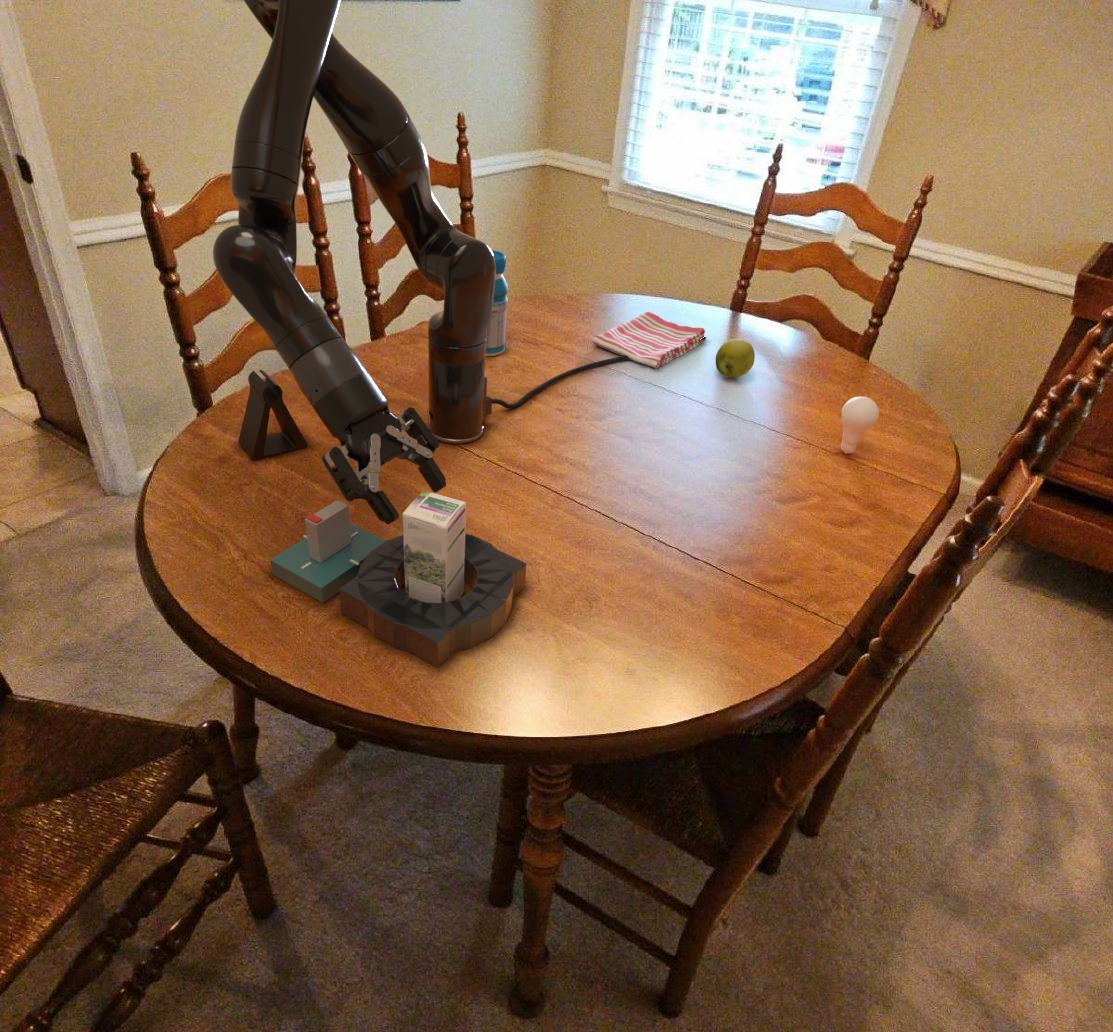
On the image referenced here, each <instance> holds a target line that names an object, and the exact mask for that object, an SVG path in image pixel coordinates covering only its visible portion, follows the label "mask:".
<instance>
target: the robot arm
mask: <svg viewBox="0 0 1113 1032" xmlns="http://www.w3.org/2000/svg"><path fill="white" fill-rule="evenodd" d="M243 2H244V3H245V5H246V6H247V8H248V10H249V11H250V12H251V13H252V15H253V17H254V18H255V19H256V20H257V22H258V23H259V24H260V26H261V27H262V29H263V30H264V31H265V32H266V33H267V35H268V36H269V38H270V39H271V42H270V46H269V49H268V52H267V54H266V58H265V59H264V62H263V64H262V67H261V68H260V71H259V73H258V75H257V77H256V79H255V80H254V83H253V85H252V86H251V89H250V90H249V93H248V95H247V97H246V99H245V101H244V104H243V106H242V109H241V112H240V115H239V118H238V121H237V122H238V123H237V125H236V132H235V137H234V146H233V154H232V163H231V171H230V172H231V173H230V191H231V194H232V197H233V199H234V201H235V202H236V205H237V211H238V212H237V213H238V217H237V219H238V221H237V224H233V225H230V226H228V227H226V228H225V229H223V230H222V231H221V232H220V233H219V234H218V236H217V237H216V239H215V241H214V243H213V247H212V259H213V265H214V267H215V269H216V272H217V274H218V276H219V277H220V279H221V281H222V282H223V284H224V285H225V287H226V288H227V289H228V291H230V293H231V294H232V295H233V297H234V298H235V299H236V300H237V302H238V303H239V304H240V305H241V306H242V307H243V309H244V310H245V311H246V312H247V313H248V314H249V315H250V317H251V318H252V319H253V320H254V321H255V322H256V323H257V324H258V326H259V327H260V328H261V329H262V330H263V332H264V333H265V334H266V336H267V337H268V339H269V341H270V342H271V345H272V346H273V347H274V349H275V351H276V352H277V353H278V355H279V356H280V358H281V360H282V361H283V362H284V363H285V365H286V366H287V368H288V370H289V371H290V373H291V374H292V376H293V378H294V380H295V382H296V384H297V386H298V387H299V389H300V391H301V392H302V394H303V395H304V397H305V398H306V400H307V401H308V403H309V404H310V405H311V407H312V409H313V410H314V411H315V413H316V415H317V416H318V417H319V419H320V420H321V422H322V423H323V425H324V426H325V428H326V429H327V430H328V433H330V435H331V436H332V437H333V438H334V439H337V440H338V441H339V444H340V446H339V447H338V446H333V447H332V448H330V449H329V450H328V451H327V452H326V453H324V454H323V455H322V456H321V461H322V463H323V465H324V467H325V468H326V470H327V471H328V473H329V475H330V476H331V478H332V479H333V481H334V483H335V484H336V486H337V488H338V489H339V491H340V492H341V494H342V496H343V498H344V499H345V500H347V502H353V501H355V500H364V501H365V502H366V503H367V504H368V506H369V507H370V508H371V510H372V511H373V513H374V515H375V516H376V518H377V520H379V521H381V522H382V523H385V525H390V524H392V523H394V522H395V521H397V520H398V519H399V518H400V514H399V512H398V511H397V509H396V508H395V506H394V505H393V503H392V502H391V500H390V499H389V496H387V494H386V493H385V492H384V490H383V489H381V490H380V480H379V479H380V478H379V477H380V472H381V470H382V466H384V465H385V464H387V463H389V462H391V461H393V460H395V458H396V459H399V460H407V461H408V462H410V463H413V464H414V465H416V466H419V467H417V468H416V469H417V470H418V472H419V473H420V475H421V476H422V477H423V479H424V481H425V482H426V484H427V485H428V486H429V488H430V489H431V491H432V493H438V492H439V491H441V490H443V489H444V488H446V486H447V480H446V476H445V475H444V473H443V472H442V470H441V469H440V467H439V466H438V464H437V463H436V461H435V460H434V453H435V451H436V450H437V449H438V448H439V447H440V442H443V443H446V444H453V445H455V444H456V445H460V444H468V443H472V442H474V441H477V440H478V439H479V438H480V437H482V435H483V433H484V428H485V427H486V418H487V416H489V415H491V414H492V410H493V409H492V408H493V407H492V406H493V404H494V405H500V406H502V407H504V408H505V409H510V410H511V409H516V408H518V407H520V406H522V405H523V404H525V403H526V401H528V400H529V399H530V398H531V397H532V396H534V395H536V394H537V393H539V392H541V391H543V390H544V389H546V388H547V387H549V386H551V385H553V384H554V383H556V382H558V381H560V380H563V379H565V378H566V377H569V376H572V375H575V374H577V373H580V372H583V371H586V370H590V369H593V368H596V367H600V366H604V365H609V364H613V363H617V362H622V361H627V360H630V359H629V357H628V356H627V355H625V356H621V355H619V356H615V357H610V358H607V359H602V360H598V361H594V362H589V363H587V364H584V365H580V366H578V367H575V368H572V369H569V370H566V371H565V372H563V373H560V374H557V375H556V376H554V377H552V378H550V379H548V380H547V381H545V382H543V383H541V384H539V385H538V386H537V387H535V388H533V389H532V390H530V391H529V392H527V393H526V394H525V395H524V396H522V397H521V398H520V399H519V400H517V401H515V402H512V403H509V402H507V401H506V400H503V399H500V398H492V397H491V396H487V394H488V390H487V389H488V377H487V376H486V356H485V351H486V331H487V328H488V326H489V324H490V321H491V318H492V311H493V301H494V290H495V279H496V266H495V259H494V255H493V253H492V251H491V250H492V249H491V247H489V245H488V244H486V243H485V242H483V241H482V240H479V239H478V238H475V237H473V236H471V235H469V234H466V233H464V232H462V231H460V230H459V229H457V228H456V227H455V225H454V224H453V223H452V222H451V221H450V219H449V218H448V217H447V215H446V213H445V211H444V210H443V208H442V207H441V205H440V203H439V201H438V200H437V198H436V196H435V194H434V191H433V188H432V181H431V172H430V171H431V170H430V162H429V156H428V153H427V152H428V151H427V150H426V146H425V144H424V142H423V139H422V137H421V135H420V134H419V132H418V130H417V128H416V125H415V124H414V122H413V120H412V118H411V116H410V115H409V113H408V111H407V109H406V107H405V106H404V104H403V103H402V101H401V100H400V98H399V97H398V95H396V93H395V92H394V91H393V90H392V89H391V88H390V87H389V86H388V85H387V84H386V83H385V82H384V81H383V80H381V79H380V78H379V76H377V75H376V74H374V73H373V72H372V70H370V69H369V68H368V67H366V66H365V65H364V64H363V63H362V62H361V61H359V60H358V59H357V58H356V57H355V56H354V55H353V54H352V53H351V52H349V51H348V50H347V49H346V48H345V46H344V45H342V44H341V43H340V41H339V39H337V37H336V36H335V35H334V34H333V30H334V27H335V23H336V21H337V16H338V13H339V10H340V6H341V2H342V0H243ZM313 99H314V100H315V101H316V103H317V105H318V106H319V108H320V109H321V111H322V112H323V114H324V115H325V117H326V118H327V119H328V121H329V122H330V124H331V126H332V127H333V129H334V131H335V132H336V134H337V135H338V137H339V139H340V141H341V143H342V144H343V146H344V148H345V150H346V151H347V152H348V154H349V155H350V157H351V159H352V160H353V162H354V164H355V165H356V167H357V168H358V170H359V172H360V173H361V174H362V176H363V178H364V179H365V180H366V182H367V183H368V184H369V186H370V188H371V189H372V191H373V193H374V194H375V195H376V197H377V198H378V200H379V201H380V204H381V205H382V207H383V208H384V209H385V210H386V212H387V213H388V215H389V216H390V217H391V219H392V220H393V222H394V224H395V225H396V227H397V229H398V231H399V232H400V235H401V237H402V239H403V240H404V243H405V245H406V247H407V249H408V251H409V253H410V255H411V257H412V259H413V261H414V264H415V265H416V268H417V270H418V271H419V273H420V275H421V276H422V278H423V279H424V280H425V281H426V283H428V284H429V285H430V286H431V287H432V288H434V289H436V290H438V291H440V292H442V293H443V294H444V296H443V309H442V311H439V312H436V313H434V314H432V315H431V317H429V320H428V322H427V325H428V326H427V353H428V355H427V357H428V361H427V362H428V365H427V367H428V368H427V369H428V408H426V414H427V417H428V425H427V424H426V422H425V421H424V420H423V418H422V417H421V416H420V415H419V413H418V411H416V409H415V408H414V407H412V406H409V407H407V408H406V409H404V410H403V411H402V412H401V413H400V414H398V415H397V416H395V415H394V414H393V413H392V412H391V411H390V409H389V402H388V400H387V398H386V396H385V395H384V394H383V393H382V391H381V390H380V388H379V386H378V385H377V383H376V382H375V379H373V377H372V376H371V374H370V373H369V371H368V370H367V368H366V367H365V365H364V364H363V362H362V361H361V359H360V358H359V356H358V355H357V353H356V352H355V351H354V350H353V349H352V348H351V346H350V345H349V344H348V343H347V342H346V341H345V339H344V338H343V336H342V335H341V333H340V332H339V331H338V329H337V328H336V325H334V323H333V321H332V320H331V319H330V317H329V316H328V314H327V313H326V311H325V310H324V309H323V307H322V306H320V304H319V303H318V302H317V301H316V300H315V299H314V298H313V297H311V296H310V295H309V294H308V293H307V291H306V290H305V289H304V287H303V285H302V284H301V282H300V281H299V280H298V278H297V277H296V275H295V272H296V267H297V257H298V254H297V253H298V244H297V243H298V239H297V238H298V237H297V235H298V233H297V231H298V230H297V213H296V202H297V198H298V192H299V185H300V177H301V171H302V170H301V169H302V161H303V150H304V145H305V139H306V132H307V126H308V122H309V117H310V114H311V113H310V111H311V107H312V103H313V101H314V100H313ZM706 339H707V336H706V337H704V338H703V339H702V340H701V341H702V342H704V341H705V340H706ZM402 431H405V432H406V433H404V432H402ZM350 459H351V460H353V461H355V469H353V467H352V466H351V464H350V463H349V462H350Z"/></svg>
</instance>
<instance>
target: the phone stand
mask: <svg viewBox="0 0 1113 1032" xmlns="http://www.w3.org/2000/svg"><path fill="white" fill-rule="evenodd" d="M258 371H259V372H260V373H261V375H262V376H263V377H264V378H265V380H264V379H263V378H262V377H261V376H260V375H259V374H258V373H257V372H256V371H255V370H252V371H251V372H250V373H249V375H248V378H247V380H248V384H249V393H248V397H247V403H246V406H245V411H244V416H243V420H242V424H241V429H240V433H239V437H238V445H240V447H241V448H242V449H243V451H244V452H245V453H246V454H247V455H248V457H249V458H250V459H251V461H253V462H255V461H259V460H263V459H264V460H265V459H268V458H271V457H274V456H275V457H276V456H278V455H280V454H282V455H283V454H286V453H290V452H295V451H299V450H302V449H306V448H308V446H309V445H308V443H307V441H306V439H305V438H304V436H303V434H302V432H301V431H300V428H299V426H298V425H297V423H296V421H295V420H294V418H293V416H292V414H291V412H290V411H289V409H288V407H287V406H286V404H285V401H284V399H283V388H282V387H281V386H280V385H279V384H278V383H277V382H276V381H275V380H274V379H273V378H272V377H271V376H270V375H269V374H268V373H267V372H266V371H264V370H263V369H259V370H258ZM271 410H272V412H273V415H274V417H275V419H276V421H277V423H278V426H279V428H280V430H281V431H280V432H276V433H272V434H268V428H269V427H268V426H269V422H270V421H269V420H270V413H271ZM267 434H268V435H267Z"/></svg>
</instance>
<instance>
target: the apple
mask: <svg viewBox="0 0 1113 1032" xmlns="http://www.w3.org/2000/svg"><path fill="white" fill-rule="evenodd" d="M755 354H756V353H755V349H754V347H753V345H752V344H751V343H750V342H749V341H747V340H745V339H742V338H732V339H728V340H726V341H725V342H723V344H722V345H720V347H719V349H717V352H716V355H715V366H716V370H717V371H718V372H719V374H720V375H722V376H723V377H726V378H732V379H734V378H739V377H742V376H744V375H746V374H748V372H750V371H751V369H752V368H753V366H754V364H755V357H756V355H755Z"/></svg>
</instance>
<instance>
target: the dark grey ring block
mask: <svg viewBox="0 0 1113 1032" xmlns="http://www.w3.org/2000/svg"><path fill="white" fill-rule="evenodd" d="M526 577H527V562H525V561H523V560H521V559H518V558H517V557H515V556H512V555H510V554H508V553H506V552H504V551H501V550H499V549H498V548H497V547H496V546H494V545H493V544H492V543H490V542H488V541H486V540H484V539H482V538H480V537H478V536H475V535H473V534H469V533H465V557H464V583H466V584H467V585H468V586H469V587H470V588H471V590H469V592H467V593H466V594H465V595H462V596H461V597H460V598H458V599H456V600H454V601H448V602H443V603H427V602H422V601H418V600H414V599H412V598H410V597H408V596H407V595H405V592H403V591H402V590H401V589H402V588H403V587H405V570H404V540H403V534H401V535H399V536H396V537H393V538H390V539H388V540H386V542H384V543H383V544H381V545H380V546H379V547H377V548H376V549H374V550H373V551H371V552H370V553H369V554H368V556H367V557H366V558H365V560H364V561H363V562H362V564H361V565H360V567H359V572H358V576H356V577H355V578H354V579H352V580H351V581H349V582H348V583H347V584H345V585H344V586H342V587H341V588H340V589H339V592H338V593H339V600H340V601H339V605H340V613H341V615H342V616H345V617H346V618H348V619H350V620H351V621H354V622H356V623H357V624H359V625H361V626H362V627H364V628H366V629H368V630H369V631H370V632H371V634H372V635H373V636H374V637H375V638H376V639H378V640H381V641H382V642H384V643H386V644H388V645H389V646H391V647H393V648H395V649H399V650H403V651H406V652H409V653H410V654H412V655H414V656H416V657H418V658H420V659H421V660H423V661H425V662H427V663H429V664H430V665H432V666H434V667H435V668H439V667H440V666H441V665H442V664H443V663H444V662H445V661H446V660H448V658H450V657H451V656H452V655H453V654H454V653H456V652H461V651H465V650H469V649H472V648H474V647H475V646H478V645H480V644H481V643H484V642H486V641H488V640H490V639H491V638H492V637H493V636H494V635H495V634H496V633H498V631H499V630H501V629H502V628H503V627H504V625H506V622H507V620H508V618H509V615H510V613H511V611H512V609H513V608H512V607H513V598H514V597H515V596H517V595H518V594H519V593H520V592H521V591H522V590H523V589H524V588H525V586H526Z"/></svg>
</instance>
